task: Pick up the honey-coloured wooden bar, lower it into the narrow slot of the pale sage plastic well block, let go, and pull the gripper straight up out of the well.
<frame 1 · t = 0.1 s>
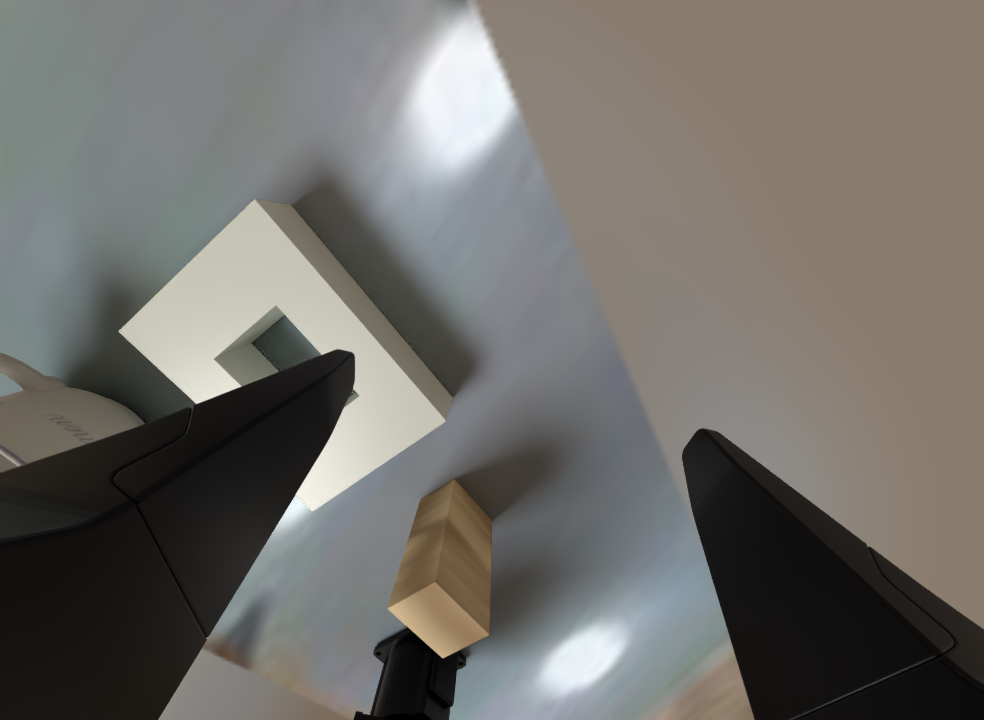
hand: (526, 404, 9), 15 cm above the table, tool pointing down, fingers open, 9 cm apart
wooden bar: (456, 510, 29), on the table
well block: (315, 359, 25), on the table
teacup: (110, 416, 27), on the table
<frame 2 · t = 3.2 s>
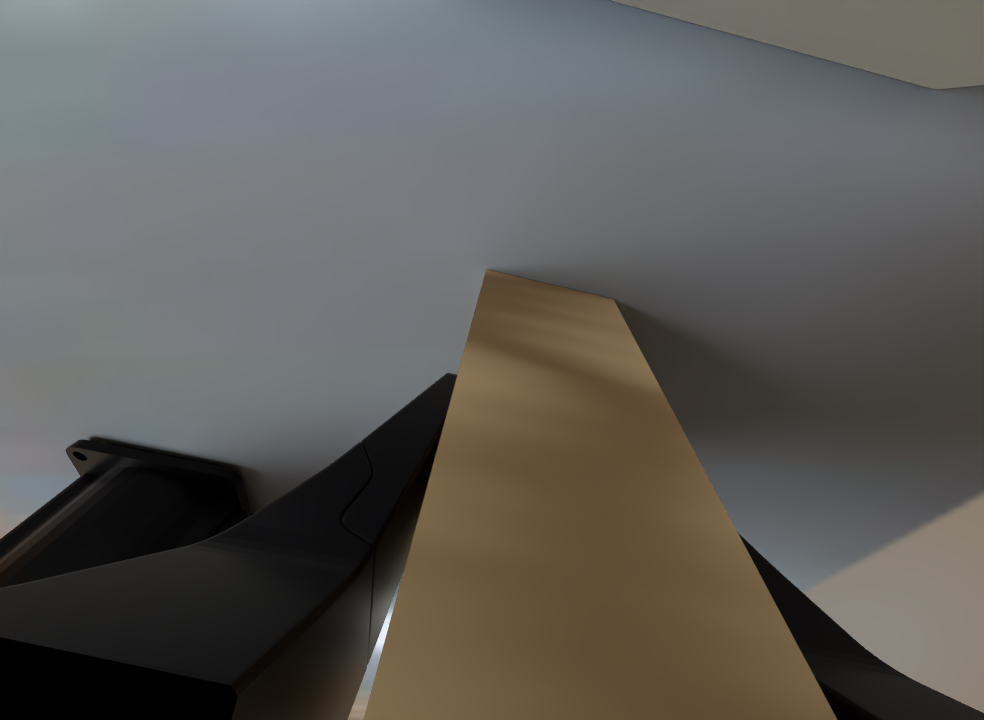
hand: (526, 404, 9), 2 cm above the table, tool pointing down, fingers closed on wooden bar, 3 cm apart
wooden bar: (526, 361, 11), on the table, touching gripper
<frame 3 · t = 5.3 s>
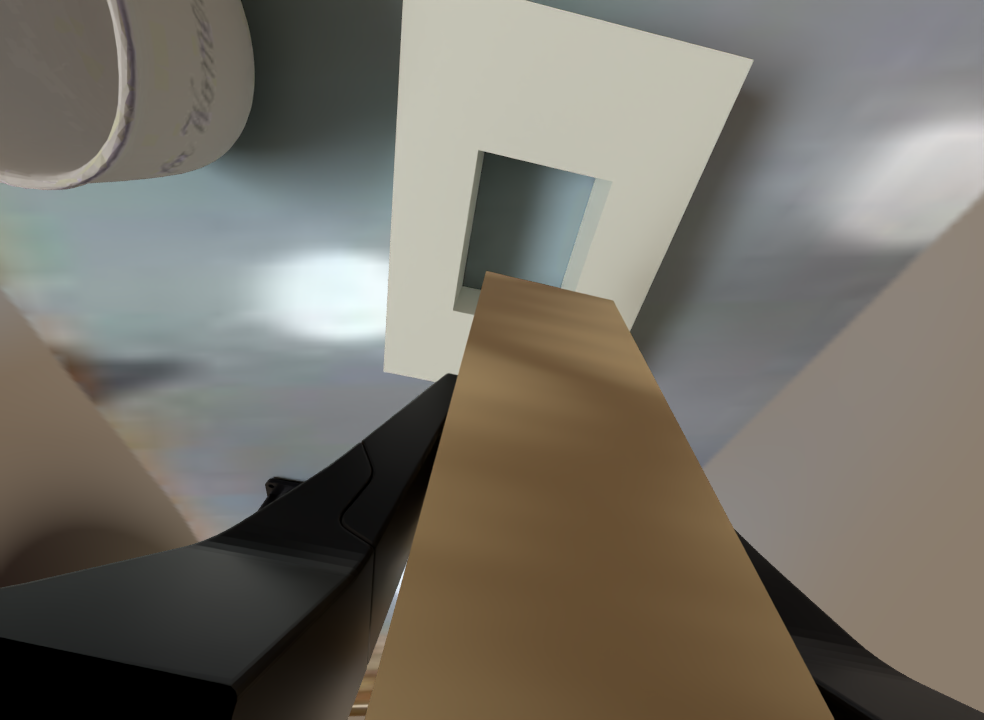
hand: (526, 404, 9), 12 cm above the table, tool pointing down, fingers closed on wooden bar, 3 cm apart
wooden bar: (526, 362, 11), point 10 cm above the table, touching gripper
well block: (523, 235, 19), on the table
teacup: (189, 7, 15), on the table
when the fingers open (4 cm above the table, at t = 7.5 s): wooden bar drops 3 cm, resting in well block.
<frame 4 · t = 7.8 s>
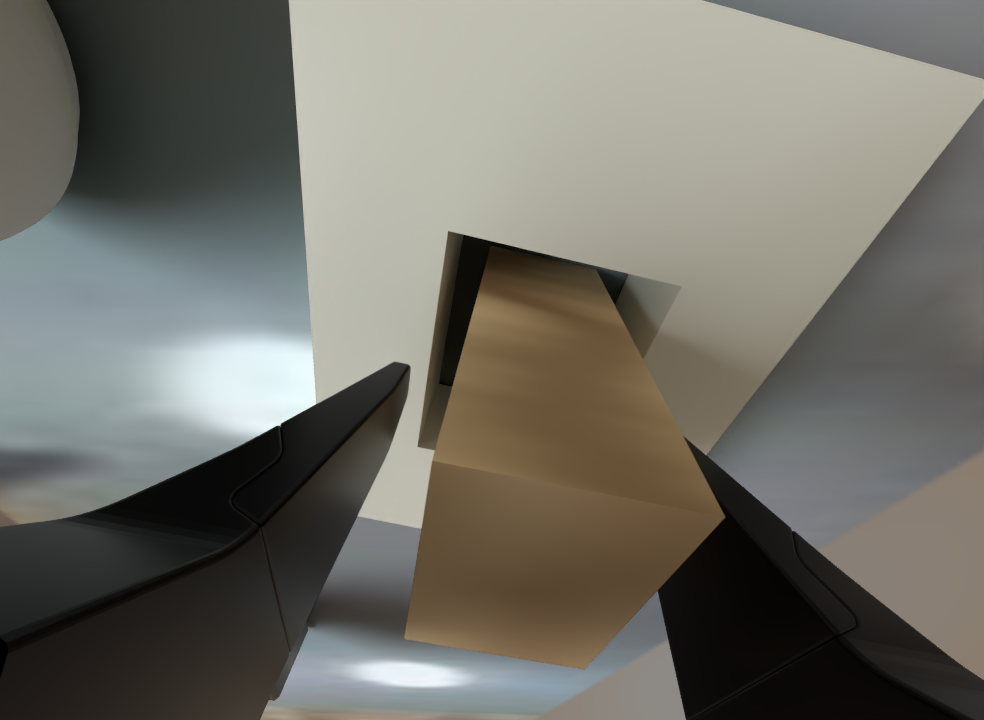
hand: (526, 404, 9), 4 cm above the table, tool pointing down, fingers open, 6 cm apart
wooden bar: (524, 324, 13), resting in well block
well block: (526, 324, 13), on the table
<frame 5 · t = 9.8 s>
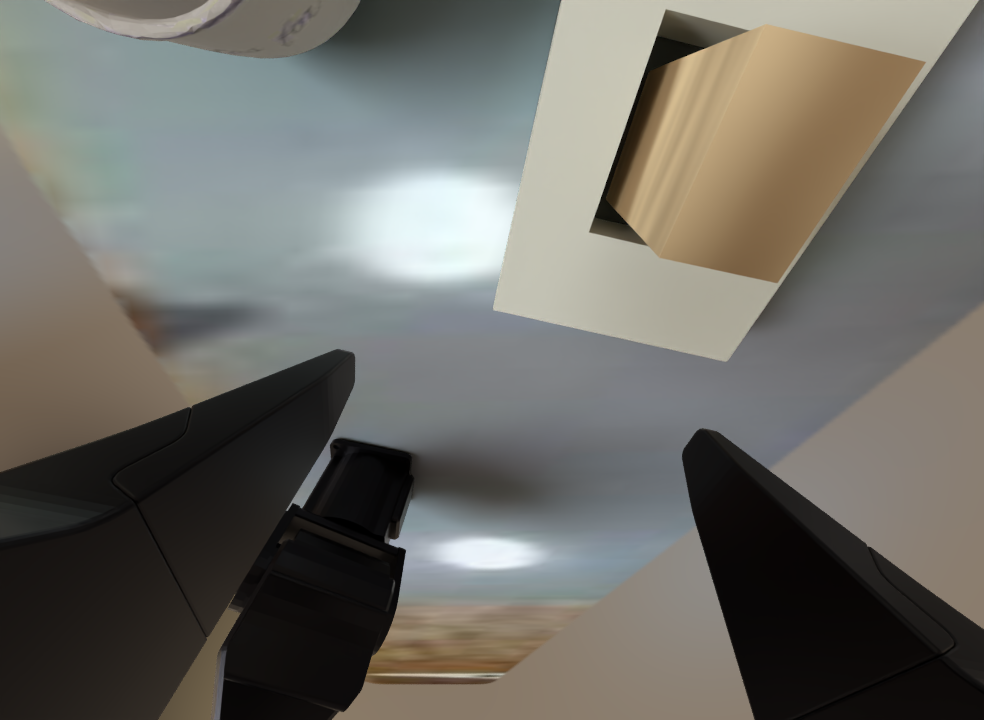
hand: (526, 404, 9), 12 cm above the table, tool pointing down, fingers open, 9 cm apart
wooden bar: (662, 149, 16), resting in well block
well block: (664, 148, 16), on the table
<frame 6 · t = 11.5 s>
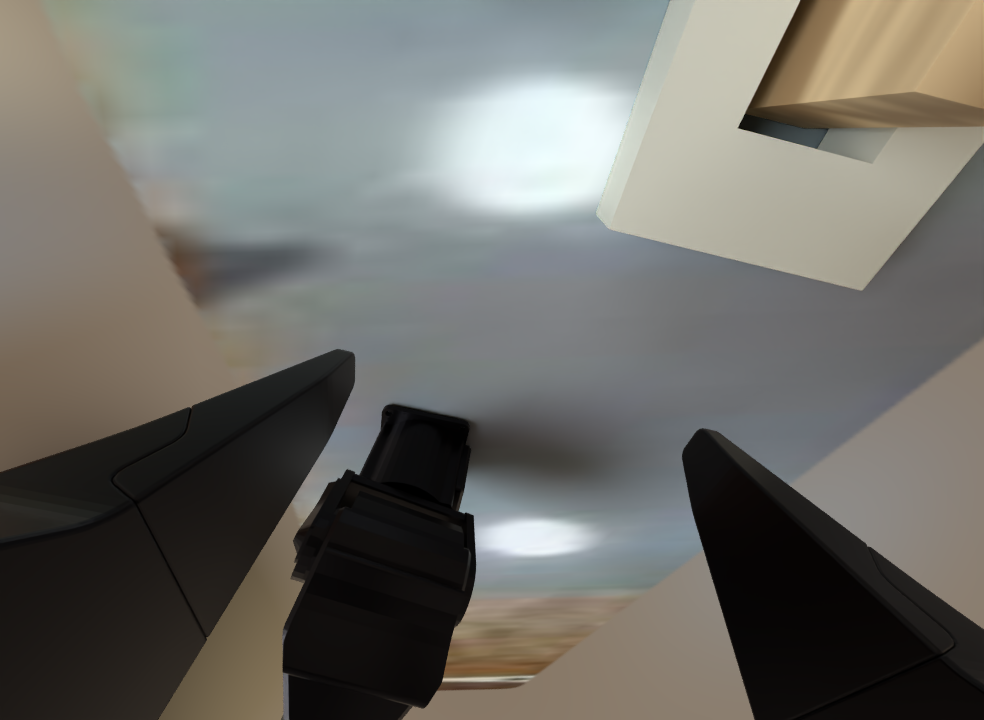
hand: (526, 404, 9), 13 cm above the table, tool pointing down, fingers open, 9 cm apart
wooden bar: (804, 47, 15), resting in well block
well block: (806, 46, 15), on the table
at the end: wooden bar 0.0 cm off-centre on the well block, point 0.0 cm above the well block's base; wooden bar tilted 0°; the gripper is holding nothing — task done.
